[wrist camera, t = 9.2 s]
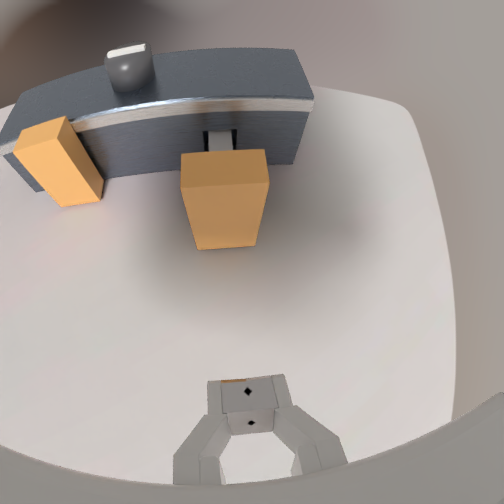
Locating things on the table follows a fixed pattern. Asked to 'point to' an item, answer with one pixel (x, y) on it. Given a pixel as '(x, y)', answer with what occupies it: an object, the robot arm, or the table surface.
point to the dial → (130, 66)
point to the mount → (173, 110)
